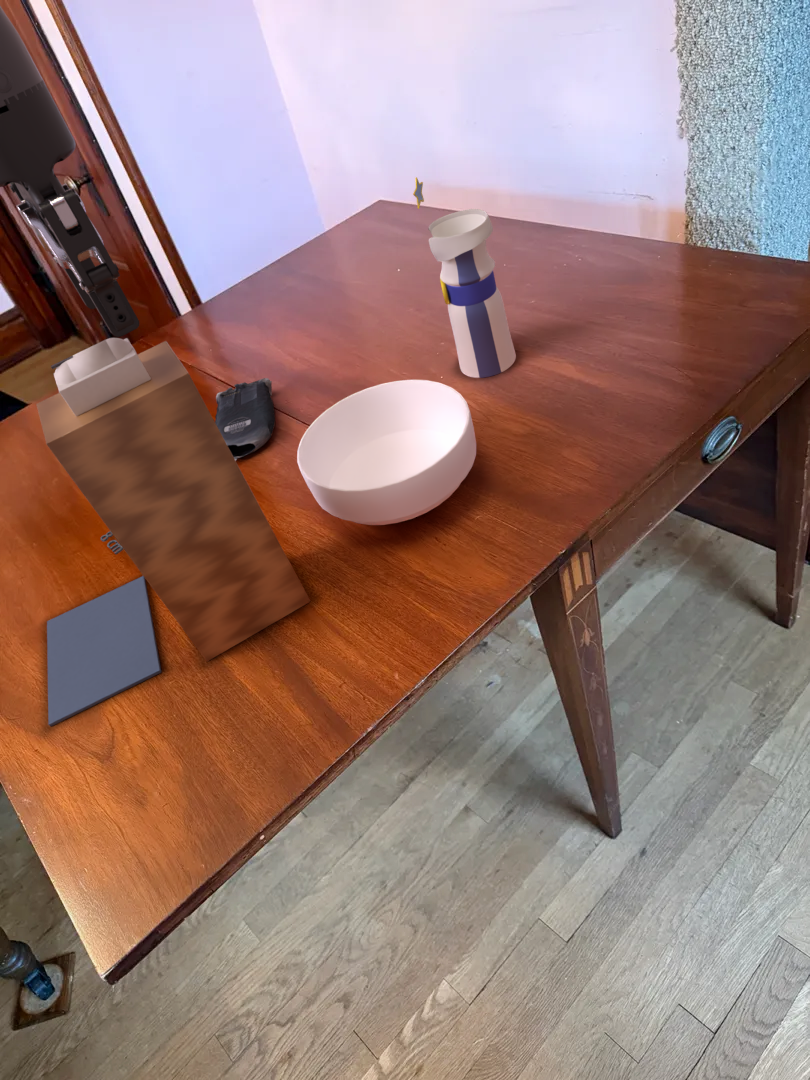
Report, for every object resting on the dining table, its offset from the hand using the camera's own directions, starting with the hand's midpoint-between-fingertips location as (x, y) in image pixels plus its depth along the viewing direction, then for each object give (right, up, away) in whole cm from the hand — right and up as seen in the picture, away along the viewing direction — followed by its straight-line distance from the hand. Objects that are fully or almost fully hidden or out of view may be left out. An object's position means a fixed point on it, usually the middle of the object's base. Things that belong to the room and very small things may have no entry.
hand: (113, 317), depth 60 cm
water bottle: (+35, +6, +42) cm, 55 cm away
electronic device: (+1, -2, +46) cm, 46 cm away
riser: (+7, -25, +20) cm, 33 cm away
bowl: (+23, -12, +27) cm, 38 cm away
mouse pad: (-10, -29, +22) cm, 38 cm away
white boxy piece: (-1, -6, +1) cm, 6 cm away
